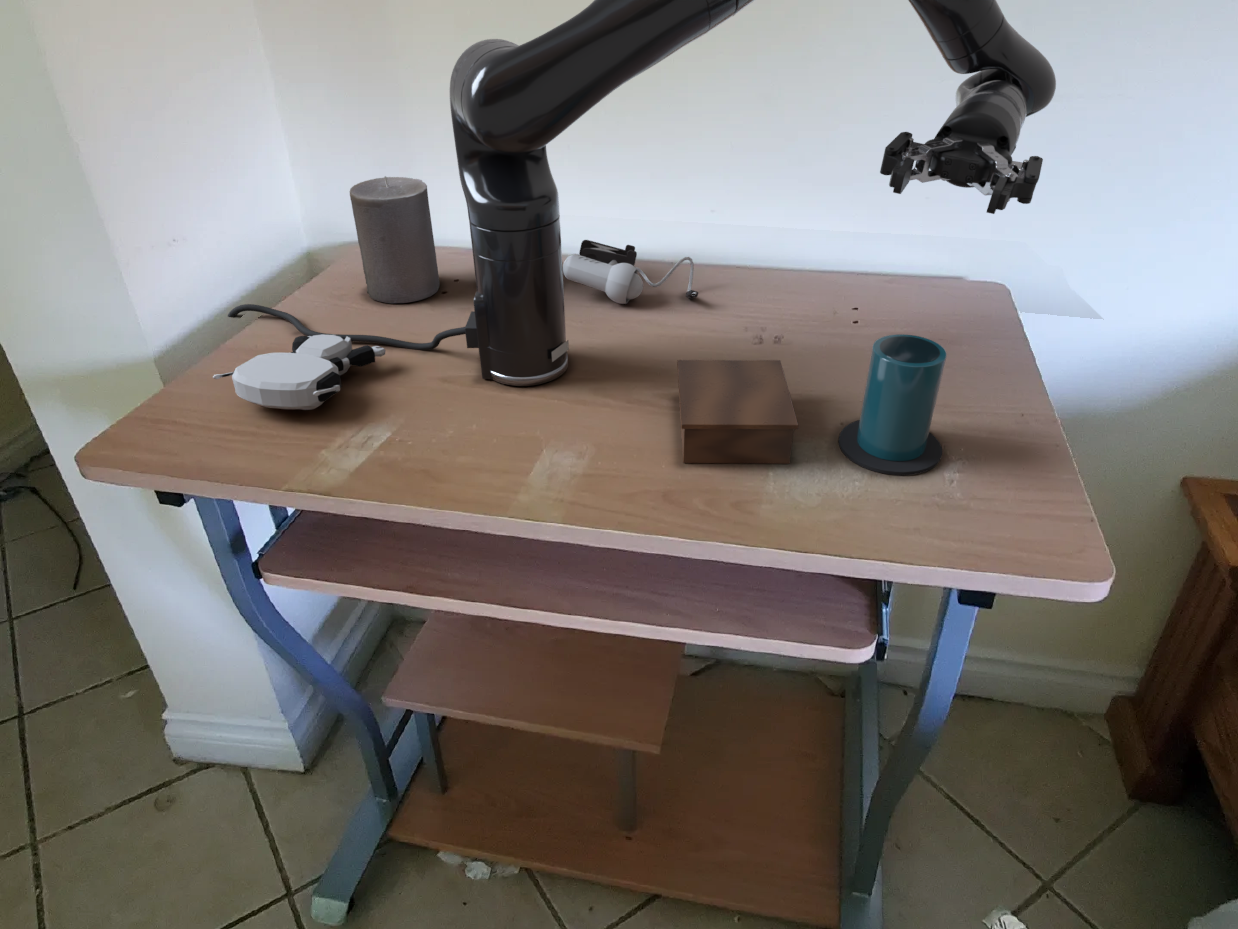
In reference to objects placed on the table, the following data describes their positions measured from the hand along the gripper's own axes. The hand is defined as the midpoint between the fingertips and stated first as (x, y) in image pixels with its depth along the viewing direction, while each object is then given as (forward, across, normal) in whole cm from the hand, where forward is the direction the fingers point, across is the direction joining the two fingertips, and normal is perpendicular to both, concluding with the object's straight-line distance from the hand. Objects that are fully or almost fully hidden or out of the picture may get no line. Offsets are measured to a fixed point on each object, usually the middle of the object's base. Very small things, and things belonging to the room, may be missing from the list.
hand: (945, 193), depth 78 cm
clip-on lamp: (-10, -36, +26) cm, 45 cm away
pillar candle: (+3, -64, +27) cm, 70 cm away
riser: (+16, -12, +21) cm, 29 cm away
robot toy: (+29, -56, +24) cm, 67 cm away
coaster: (+12, +2, +20) cm, 24 cm away
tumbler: (+12, +3, +20) cm, 23 cm away
